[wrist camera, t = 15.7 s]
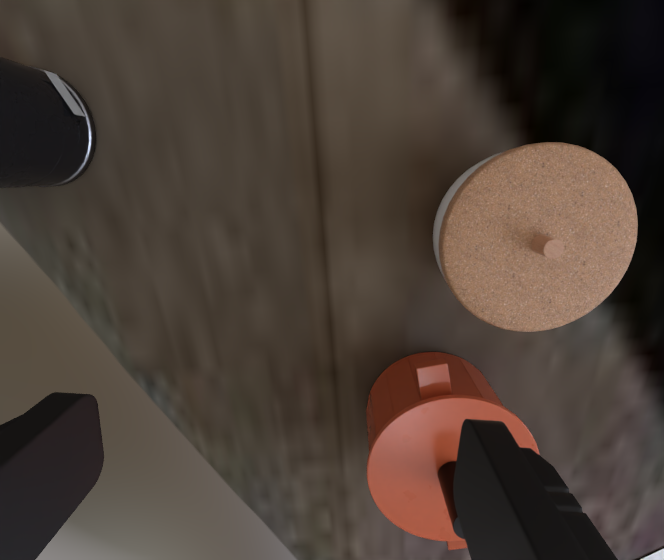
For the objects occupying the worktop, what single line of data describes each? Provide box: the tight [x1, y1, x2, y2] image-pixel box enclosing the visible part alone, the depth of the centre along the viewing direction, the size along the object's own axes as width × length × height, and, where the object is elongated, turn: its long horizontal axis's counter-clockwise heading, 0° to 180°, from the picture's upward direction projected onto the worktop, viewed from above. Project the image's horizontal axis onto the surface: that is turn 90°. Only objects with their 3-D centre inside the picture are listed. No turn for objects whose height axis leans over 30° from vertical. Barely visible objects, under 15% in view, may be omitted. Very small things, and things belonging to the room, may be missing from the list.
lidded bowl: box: [433, 142, 638, 332], centre depth 30 cm, size 13×13×11 cm
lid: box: [367, 395, 539, 541], centre depth 30 cm, size 13×13×6 cm
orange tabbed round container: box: [366, 352, 504, 550], centre depth 36 cm, size 12×18×8 cm
